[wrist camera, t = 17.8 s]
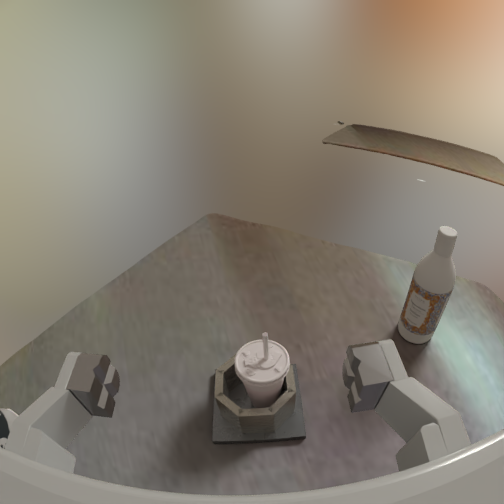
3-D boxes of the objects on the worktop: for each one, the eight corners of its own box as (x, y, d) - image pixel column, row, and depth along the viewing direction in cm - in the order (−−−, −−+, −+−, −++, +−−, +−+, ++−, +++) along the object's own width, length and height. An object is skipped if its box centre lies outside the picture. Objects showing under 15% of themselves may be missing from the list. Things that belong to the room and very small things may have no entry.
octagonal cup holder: (213, 443, 35) (203, 425, 31) (216, 372, 45) (209, 347, 41) (305, 438, 35) (309, 418, 31) (295, 367, 45) (297, 341, 41)
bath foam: (389, 328, 49) (417, 227, 38) (411, 310, 52) (439, 214, 40) (417, 351, 44) (458, 250, 33) (439, 331, 46) (476, 234, 35)
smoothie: (294, 412, 37) (299, 351, 29) (247, 424, 36) (235, 366, 28) (280, 376, 43) (280, 308, 35) (237, 386, 42) (224, 320, 34)
